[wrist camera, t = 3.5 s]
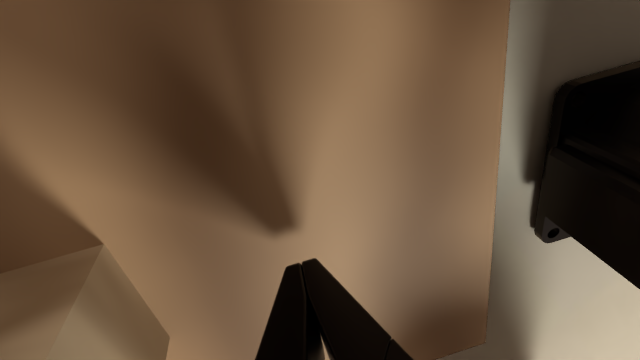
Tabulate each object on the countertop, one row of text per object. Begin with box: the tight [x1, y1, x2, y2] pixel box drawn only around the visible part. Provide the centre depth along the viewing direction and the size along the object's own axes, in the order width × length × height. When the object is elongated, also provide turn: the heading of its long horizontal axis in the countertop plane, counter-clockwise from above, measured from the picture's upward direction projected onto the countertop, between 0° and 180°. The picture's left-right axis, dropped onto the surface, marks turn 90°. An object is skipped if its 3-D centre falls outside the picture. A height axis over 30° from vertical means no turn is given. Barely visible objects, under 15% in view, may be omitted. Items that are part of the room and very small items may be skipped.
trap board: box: [0, 0, 510, 360], centre depth 10 cm, size 25×16×4 cm, turn 101°
